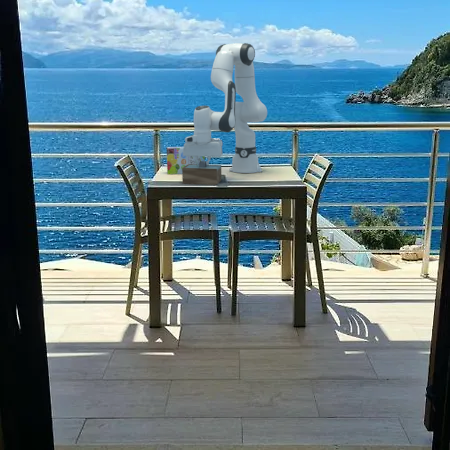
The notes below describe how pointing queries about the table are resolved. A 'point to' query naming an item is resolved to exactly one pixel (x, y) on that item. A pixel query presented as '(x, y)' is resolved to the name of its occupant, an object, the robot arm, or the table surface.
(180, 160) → the snack box
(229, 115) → the robot arm
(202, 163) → the lid
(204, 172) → the walnut box
